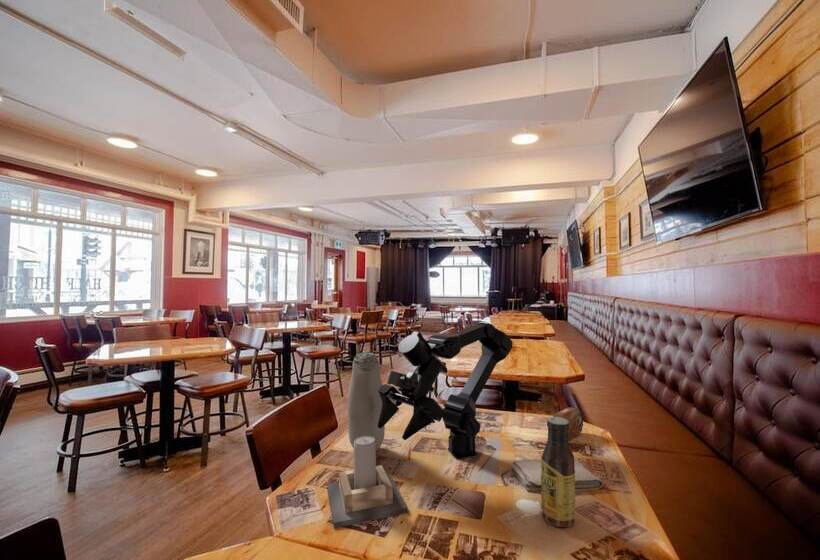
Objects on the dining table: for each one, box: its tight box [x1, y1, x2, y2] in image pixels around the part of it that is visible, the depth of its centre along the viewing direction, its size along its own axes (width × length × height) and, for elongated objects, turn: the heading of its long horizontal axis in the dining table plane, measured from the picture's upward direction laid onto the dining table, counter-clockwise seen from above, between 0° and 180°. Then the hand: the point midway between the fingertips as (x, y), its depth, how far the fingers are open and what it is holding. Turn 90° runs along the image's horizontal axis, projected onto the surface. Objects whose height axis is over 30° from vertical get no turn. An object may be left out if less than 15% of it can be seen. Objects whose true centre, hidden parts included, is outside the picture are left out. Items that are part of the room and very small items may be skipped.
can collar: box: [326, 465, 409, 529], centre depth 82 cm, size 15×15×4 cm
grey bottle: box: [347, 351, 386, 452], centre depth 106 cm, size 10×10×28 cm
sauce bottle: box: [540, 416, 576, 528], centre depth 74 cm, size 7×6×20 cm
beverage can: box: [353, 436, 377, 490], centre depth 82 cm, size 5×5×12 cm
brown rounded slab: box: [552, 406, 584, 442], centre depth 113 cm, size 15×3×8 cm, turn 129°
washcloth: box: [511, 458, 604, 493], centre depth 90 cm, size 12×18×3 cm, turn 95°
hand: (390, 433), depth 87 cm, fingers open, 9 cm apart
